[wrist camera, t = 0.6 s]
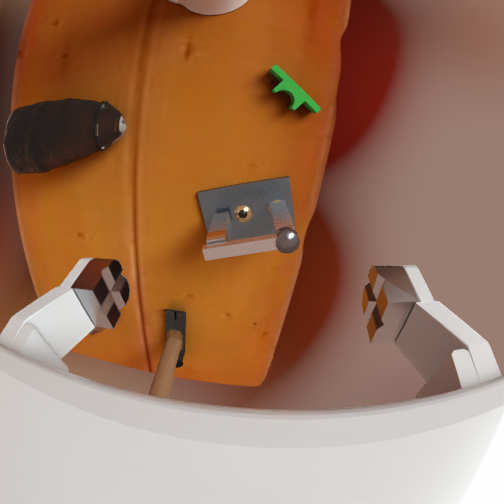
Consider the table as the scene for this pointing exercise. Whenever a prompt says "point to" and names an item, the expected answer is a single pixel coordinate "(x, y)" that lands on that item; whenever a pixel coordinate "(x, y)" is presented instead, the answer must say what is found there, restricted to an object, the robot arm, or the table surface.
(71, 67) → the table surface
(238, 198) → the bolt hole plate
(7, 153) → the dark brown oval body
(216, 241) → the post
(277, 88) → the pipe clamp
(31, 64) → the table surface
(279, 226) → the grey metal upright piece
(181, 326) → the hammer
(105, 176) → the table surface
